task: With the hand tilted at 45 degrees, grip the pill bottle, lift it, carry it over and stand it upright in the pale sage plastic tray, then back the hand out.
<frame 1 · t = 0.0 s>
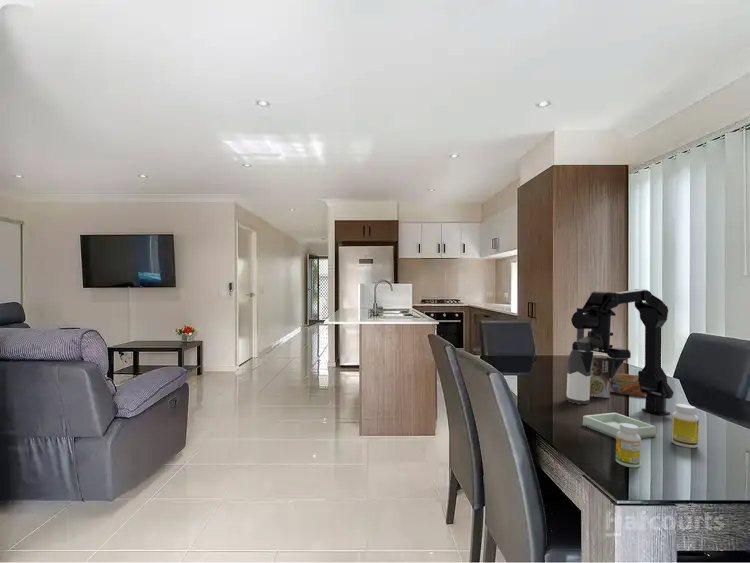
hand: (598, 375, 145), 15 cm above the table, tool pointing down, fingers open, 9 cm apart
pill bottle: (684, 445, 124), on the table
tin: (629, 394, 181), on the table
supplement bottle: (627, 464, 108), on the table
wine bottle: (577, 402, 165), on the table
tray: (618, 430, 133), on the table
coffee box: (595, 395, 177), on the table
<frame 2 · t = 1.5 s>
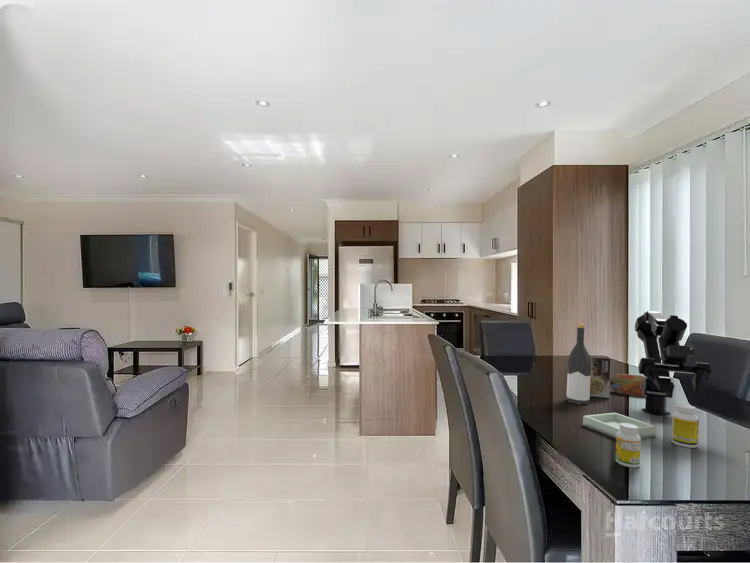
hand: (678, 391, 131), 13 cm above the table, tool tilted 45°, fingers open, 9 cm apart
nothing on the table moved.
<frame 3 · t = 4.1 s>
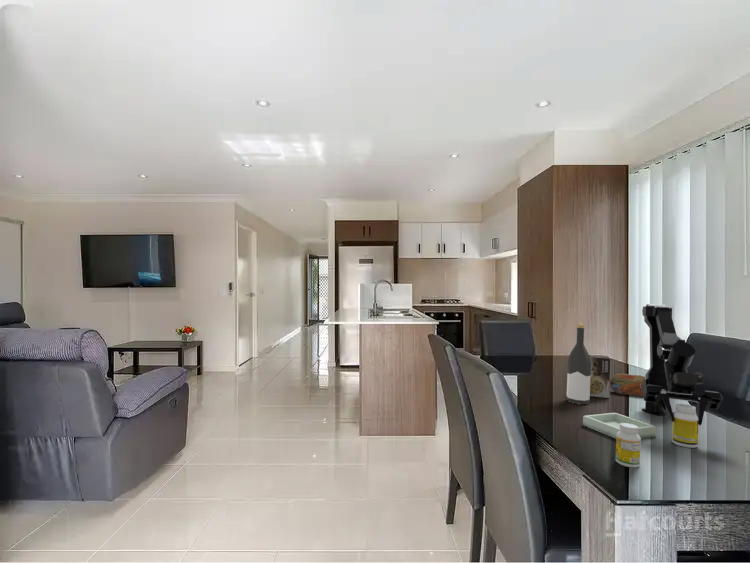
hand: (686, 422, 122), 7 cm above the table, tool tilted 45°, fingers closed on pill bottle, 6 cm apart
pill bottle: (684, 445, 124), on the table, touching gripper
everything else where it was.
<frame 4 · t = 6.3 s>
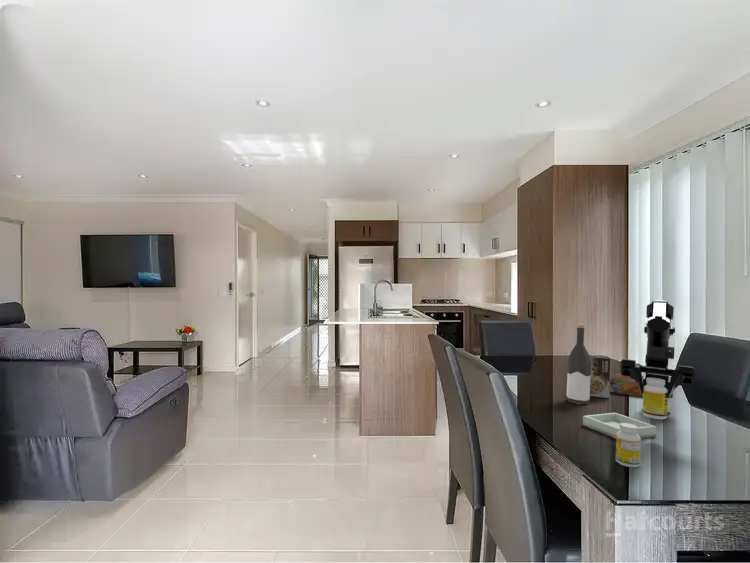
hand: (654, 395, 126), 13 cm above the table, tool tilted 45°, fingers closed on pill bottle, 6 cm apart
pill bottle: (654, 417, 127), point 6 cm above the table, touching gripper
everything else where it was.
when the fingers open (9 cm above the table, at t = 8.7 s): pill bottle drops 1 cm, resting on tray.
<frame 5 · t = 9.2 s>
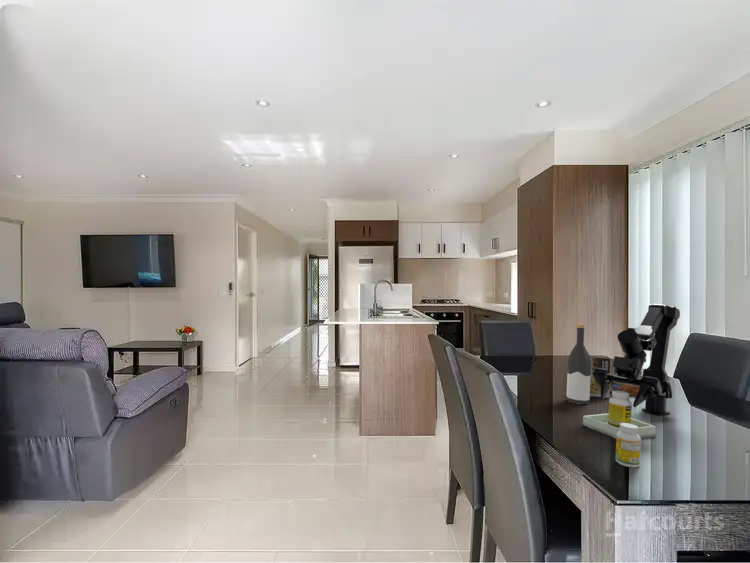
hand: (617, 402, 132), 9 cm above the table, tool tilted 45°, fingers open, 9 cm apart
pill bottle: (618, 428, 133), point 1 cm above the table, touching tray
everything else where it was.
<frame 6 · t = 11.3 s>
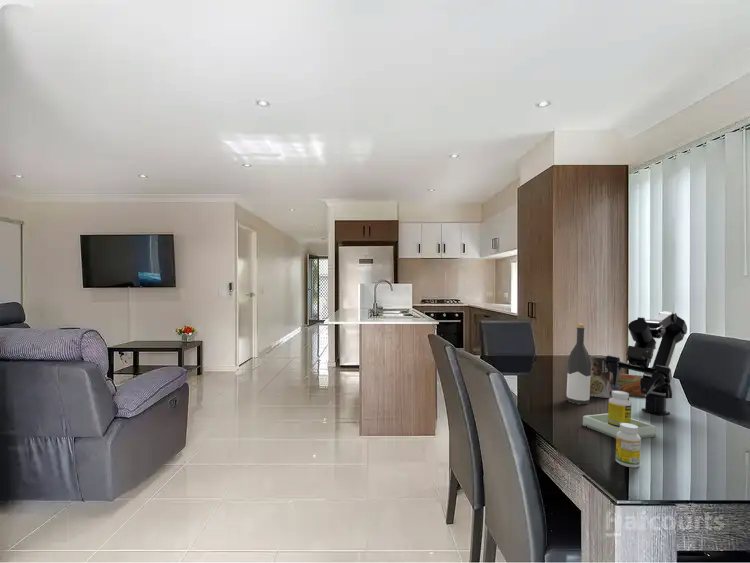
hand: (629, 390, 138), 12 cm above the table, tool tilted 40°, fingers open, 9 cm apart
nothing on the table moved.
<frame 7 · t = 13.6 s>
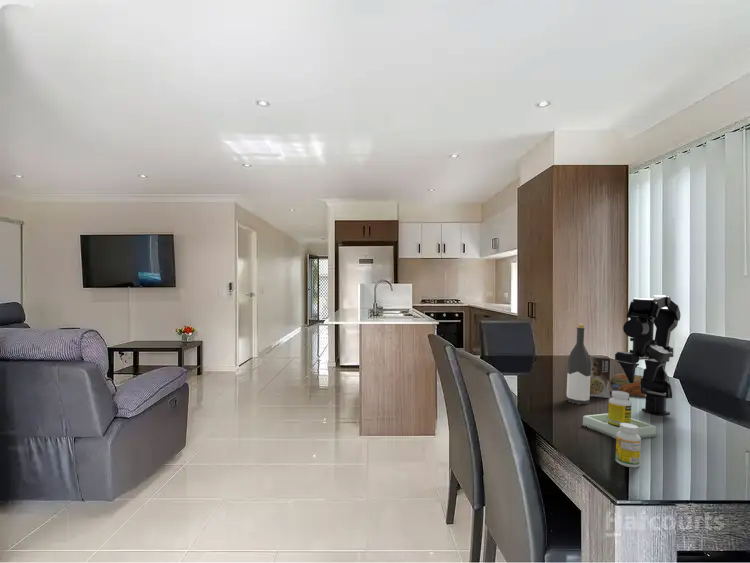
hand: (641, 382, 144), 13 cm above the table, tool pointing down, fingers open, 9 cm apart
nothing on the table moved.
at the end: pill bottle inside the target area on the tray (0.2 cm from its centre), point 0.6 cm above the tray's base; pill bottle tilted 0°; the gripper is holding nothing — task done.
